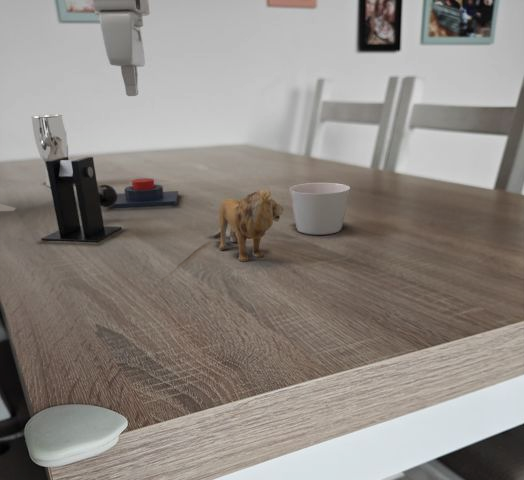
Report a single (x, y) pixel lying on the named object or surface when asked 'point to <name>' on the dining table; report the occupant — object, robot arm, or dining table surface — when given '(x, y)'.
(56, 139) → the beer glass
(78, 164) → the bracket
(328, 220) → the white ramekin
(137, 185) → the button
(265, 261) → the dining table surface
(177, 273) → the dining table surface
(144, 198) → the button box
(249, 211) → the lion figurine
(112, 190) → the lever
